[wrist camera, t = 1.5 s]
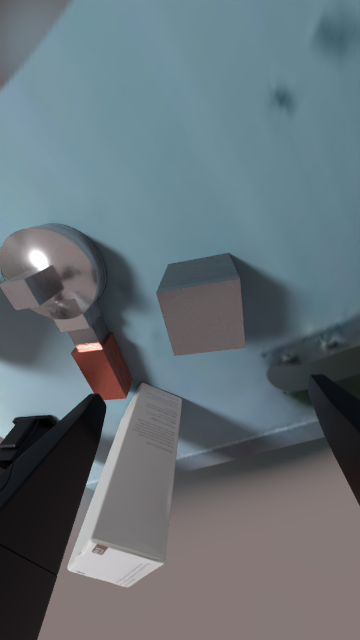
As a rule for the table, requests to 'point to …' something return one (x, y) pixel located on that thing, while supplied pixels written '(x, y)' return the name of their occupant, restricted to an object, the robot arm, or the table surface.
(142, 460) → the skincare box
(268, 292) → the table surface
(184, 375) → the table surface
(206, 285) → the brushed metal block
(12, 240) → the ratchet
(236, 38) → the table surface
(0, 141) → the table surface
